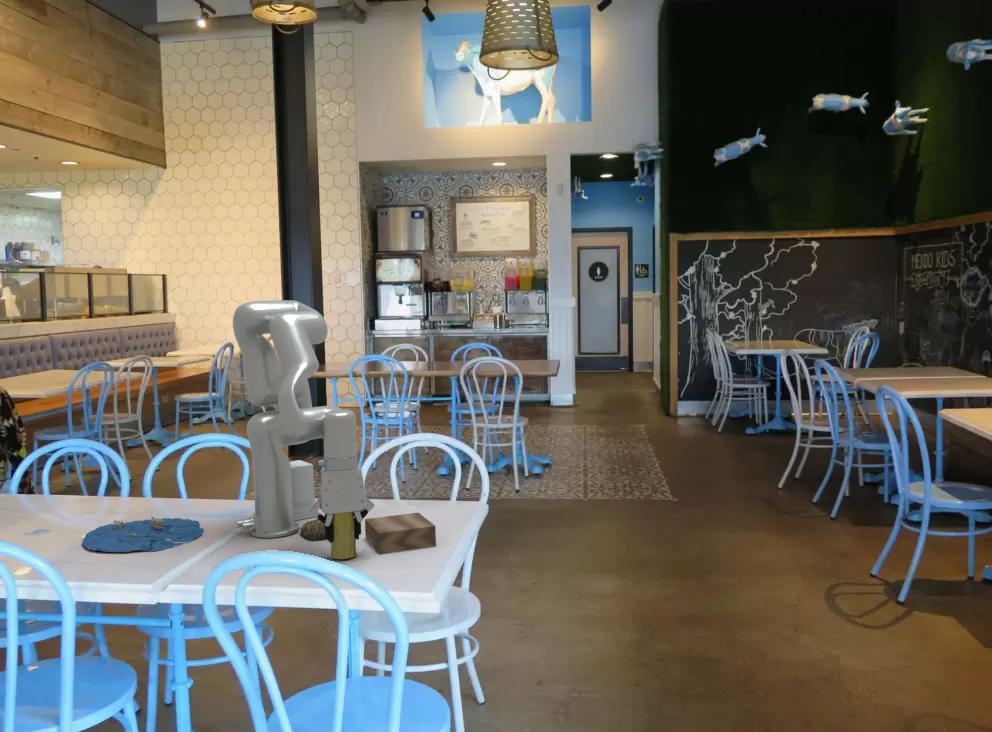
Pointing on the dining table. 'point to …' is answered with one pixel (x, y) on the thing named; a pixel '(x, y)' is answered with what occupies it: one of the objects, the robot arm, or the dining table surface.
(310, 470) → the supplement box
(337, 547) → the vase
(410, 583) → the dining table surface
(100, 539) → the decorative plate
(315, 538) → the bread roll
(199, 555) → the dining table surface
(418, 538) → the block
